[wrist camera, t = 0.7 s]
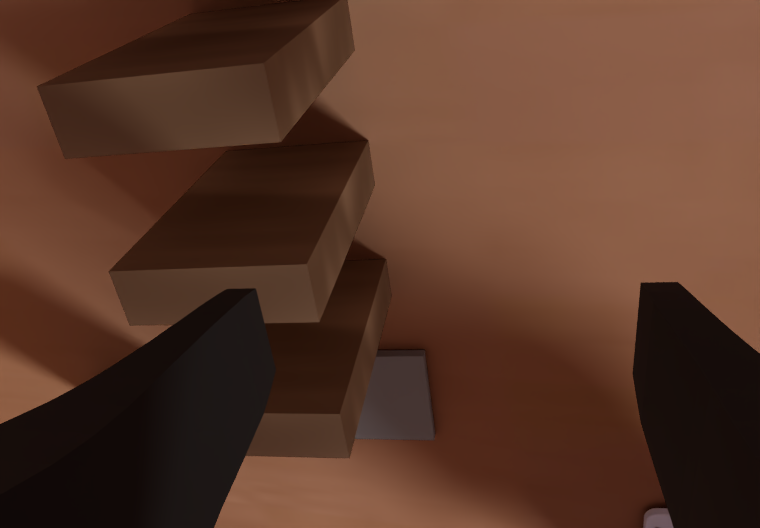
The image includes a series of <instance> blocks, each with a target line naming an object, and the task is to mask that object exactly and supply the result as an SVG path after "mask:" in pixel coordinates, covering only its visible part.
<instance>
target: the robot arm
mask: <svg viewBox="0 0 760 528" xmlns="http://www.w3.org/2000/svg"><path fill="white" fill-rule="evenodd" d="M275 372H276V368H275V364H274V359H273V355H272V351H271V347H270V343H269V339H268V335H267V331H266V327H265V323H264V319H263V315H262V311H261V307H260V303H259V299H258V295H257V291H256V288H245V289H226V290H224V291H222V292H221V293H219V294H217V295H216V296H214V297H213V298H211V299H210V300H208V301H207V302H205V303H204V304H202V305H201V306H199V307H198V308H197V309H195V310H194V311H192V312H191V313H189V314H188V315H187V316H185V317H184V318H182V319H181V320H180V321H178V322H177V323H175V324H174V325H173V326H171V327H170V328H168V329H167V330H165V331H164V332H163V333H161V334H160V335H158V336H157V337H155V338H154V339H153V340H151V341H150V342H148V343H147V344H145V345H144V346H142V347H141V348H139V349H137V350H136V351H134V352H133V353H131V354H130V355H128V356H127V357H125V358H124V359H122V360H121V361H119V362H117V363H116V364H114V365H113V366H111V367H110V368H108V369H107V370H105V371H103V372H102V373H100V374H98V375H97V376H95V377H93V378H92V379H90V380H88V381H86V382H85V383H83V384H81V385H79V386H77V387H76V388H74V389H72V390H70V391H68V392H66V393H64V394H63V395H61V396H59V397H57V398H55V399H53V400H51V401H49V402H47V403H45V404H43V405H41V406H39V407H36V408H34V409H32V410H30V411H28V412H26V413H23V414H21V415H19V416H17V417H15V418H13V419H10V420H8V421H6V422H4V423H2V424H0V528H214V526H215V524H216V521H217V519H218V516H219V514H220V511H221V509H222V506H223V504H224V502H225V500H226V497H227V495H228V493H229V491H230V489H231V486H232V484H233V482H234V480H235V478H236V475H237V473H238V471H239V469H240V466H241V464H242V462H243V460H244V458H245V455H246V453H247V451H248V449H249V447H250V444H251V442H252V440H253V437H254V435H255V433H256V431H257V428H258V426H259V424H260V421H261V419H262V417H263V414H264V411H265V408H266V405H267V401H268V398H269V395H270V391H271V387H272V383H273V380H274V376H275ZM633 379H634V385H635V391H636V397H637V403H638V409H639V415H640V420H641V425H642V428H643V431H644V435H645V438H646V441H647V444H648V448H649V451H650V454H651V457H652V461H653V464H654V467H655V470H656V473H657V477H658V480H659V483H660V486H661V489H662V493H663V496H664V499H665V502H666V505H667V508H653V509H650V510H648V511H647V512H646V513H645V515H644V523H643V528H760V353H758V352H757V351H756V350H754V349H753V348H752V347H751V346H750V345H748V344H747V343H746V342H745V341H744V340H742V339H741V338H740V337H739V336H738V335H736V334H735V333H734V332H733V331H732V330H731V329H729V328H728V327H727V326H726V325H725V324H724V323H723V322H721V321H720V320H719V319H718V318H717V317H716V316H715V315H714V314H712V313H711V312H710V311H709V310H708V309H707V308H706V307H705V306H704V305H703V304H701V303H700V302H699V301H698V300H697V299H696V298H695V297H694V296H693V295H692V294H691V293H690V292H688V291H687V290H686V289H685V288H684V287H683V286H682V285H681V284H679V283H678V282H656V283H641V287H640V298H639V309H638V321H637V332H636V343H635V354H634V365H633Z"/></svg>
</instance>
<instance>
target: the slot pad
mask: <svg viewBox="0 0 760 528" xmlns="http://www.w3.org/2000/svg"><path fill="white" fill-rule="evenodd" d="M355 439H391V440H435V427H434V419H433V412H432V404H431V396H430V388H429V380H428V372H427V364H426V356H425V350H377V354H376V358H375V362H374V366H373V370H372V373H371V377H370V381H369V385H368V389H367V393H366V397H365V400H364V404H363V408H362V412H361V416H360V420H359V424H358V427H357V431H356V435H355Z"/></svg>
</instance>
